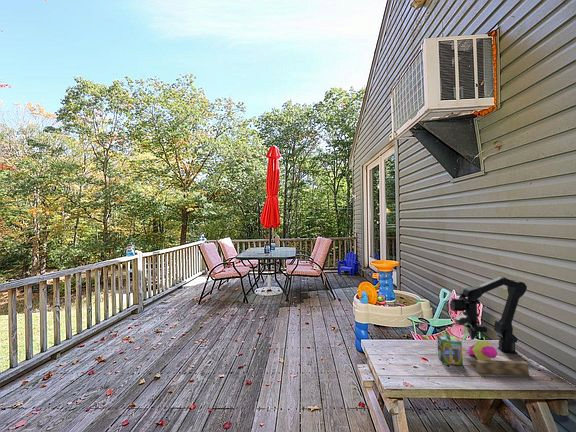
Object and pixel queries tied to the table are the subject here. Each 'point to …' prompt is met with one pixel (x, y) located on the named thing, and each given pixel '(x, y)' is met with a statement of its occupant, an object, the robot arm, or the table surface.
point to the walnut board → (502, 367)
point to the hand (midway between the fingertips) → (472, 339)
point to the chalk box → (449, 349)
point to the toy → (482, 350)
